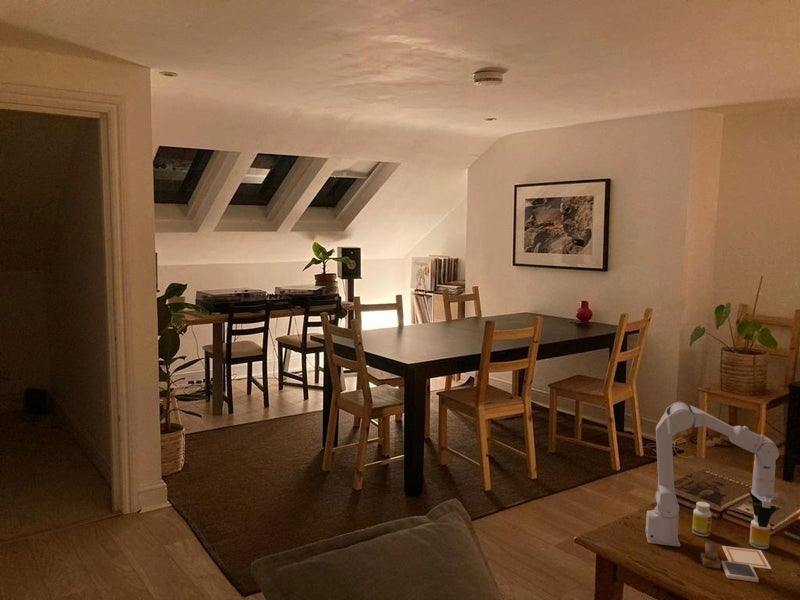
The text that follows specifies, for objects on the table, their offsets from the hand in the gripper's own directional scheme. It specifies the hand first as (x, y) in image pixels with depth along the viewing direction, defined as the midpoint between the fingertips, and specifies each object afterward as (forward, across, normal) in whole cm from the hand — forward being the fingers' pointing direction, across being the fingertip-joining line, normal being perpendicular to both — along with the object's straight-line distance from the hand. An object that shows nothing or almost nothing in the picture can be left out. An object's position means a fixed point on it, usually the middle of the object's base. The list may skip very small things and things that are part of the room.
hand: (760, 521), depth 197 cm
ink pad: (+10, -15, +7) cm, 20 cm away
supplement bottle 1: (+10, +8, +15) cm, 20 cm away
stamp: (+10, -12, +14) cm, 22 cm away
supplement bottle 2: (+10, +5, -1) cm, 11 cm away
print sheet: (+10, -5, +4) cm, 12 cm away
